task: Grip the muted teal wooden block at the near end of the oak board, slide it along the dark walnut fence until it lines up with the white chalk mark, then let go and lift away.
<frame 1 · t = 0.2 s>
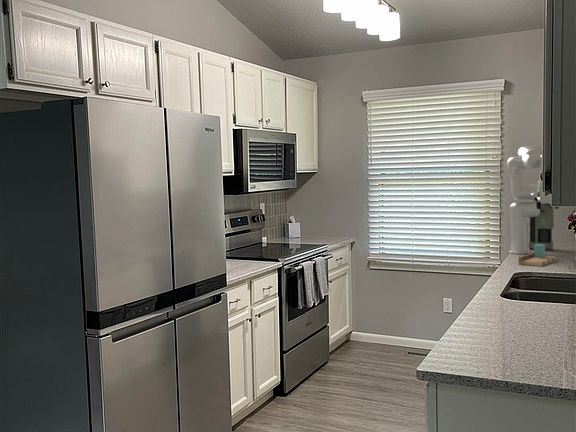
hand: (547, 208, 302), 30 cm above the worktop, tool pointing down, fingers open, 9 cm apart
device: (541, 249, 358), on the worktop
board: (537, 262, 311), on the worktop
gauge block: (539, 256, 317), point 2 cm above the worktop, touching board
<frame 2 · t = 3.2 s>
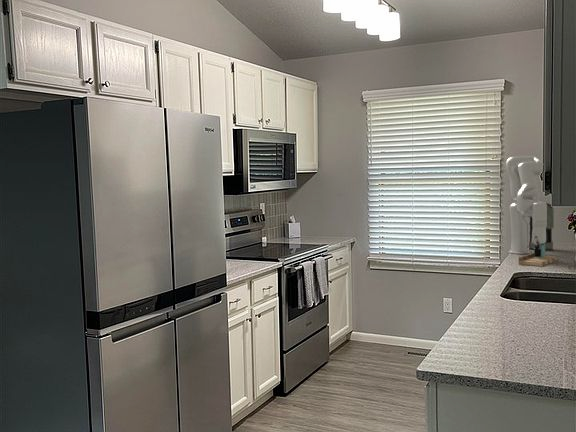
hand: (539, 255, 317), 3 cm above the worktop, tool pointing down, fingers closed on gauge block, 5 cm apart
gauge block: (539, 256, 317), point 2 cm above the worktop, touching board, gripper
everything else where it was.
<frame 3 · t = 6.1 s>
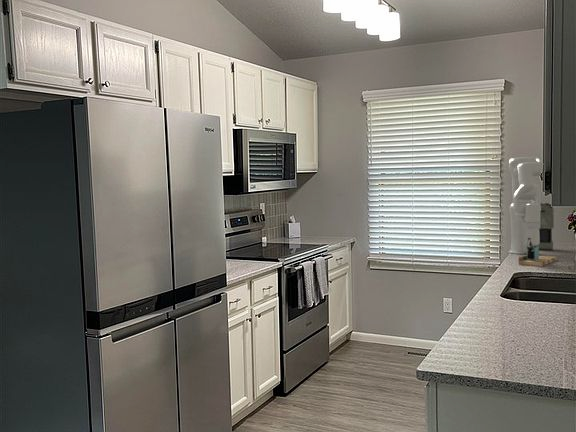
hand: (532, 257, 310), 3 cm above the worktop, tool pointing down, fingers closed on gauge block, 5 cm apart
gauge block: (532, 259, 310), point 2 cm above the worktop, touching gripper
everything else where it was.
when the fingers open (3 cm above the worktop, at t = 8.8 s): gauge block stays where it is, resting on board.
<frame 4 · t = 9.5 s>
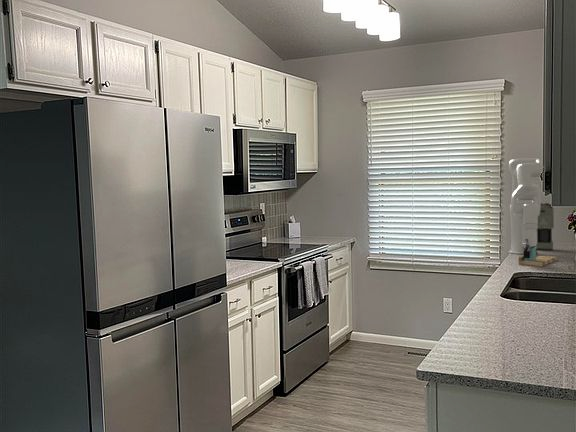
hand: (530, 256, 307), 4 cm above the worktop, tool pointing down, fingers open, 9 cm apart
gauge block: (530, 260, 307), point 2 cm above the worktop, touching board
everything else where it was.
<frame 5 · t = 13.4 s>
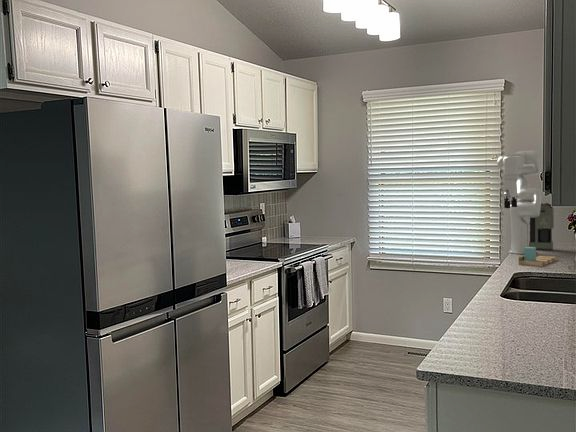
hand: (510, 207, 322), 30 cm above the worktop, tool pointing down, fingers open, 9 cm apart
nothing on the worktop moved.
at the end: gauge block 0.2 cm from the target spot on the board, point 2.0 cm above the board's base; gauge block tilted 0°; the gripper is holding nothing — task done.
